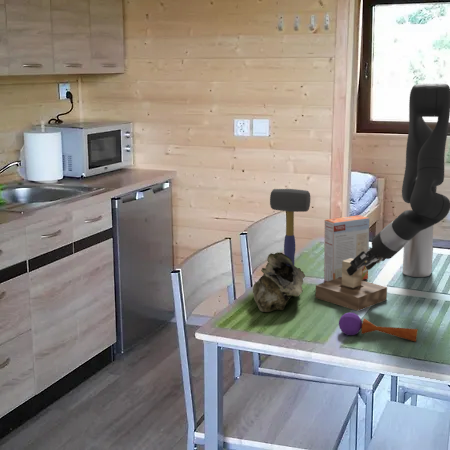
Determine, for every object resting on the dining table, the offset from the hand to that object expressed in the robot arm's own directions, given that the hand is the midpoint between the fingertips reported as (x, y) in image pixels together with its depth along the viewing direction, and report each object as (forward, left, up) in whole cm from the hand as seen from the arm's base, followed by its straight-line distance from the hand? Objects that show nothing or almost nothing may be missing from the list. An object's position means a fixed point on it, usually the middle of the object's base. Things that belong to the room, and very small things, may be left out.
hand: (357, 270), depth 208 cm
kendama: (+19, +21, -10) cm, 30 cm away
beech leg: (0, -2, -10) cm, 10 cm away
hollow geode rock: (+16, -16, -10) cm, 25 cm away
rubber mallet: (-3, -30, -10) cm, 32 cm away
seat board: (0, -2, -10) cm, 10 cm away
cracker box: (-14, -15, -10) cm, 23 cm away
